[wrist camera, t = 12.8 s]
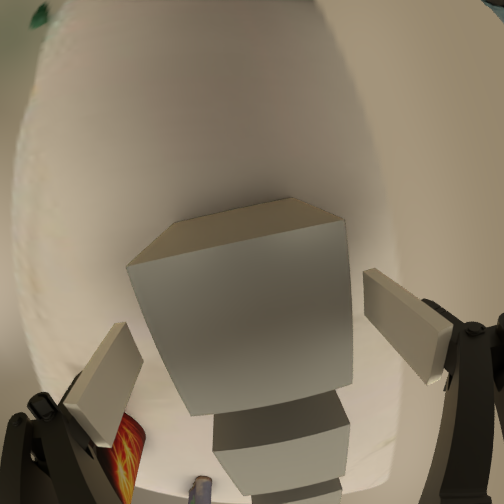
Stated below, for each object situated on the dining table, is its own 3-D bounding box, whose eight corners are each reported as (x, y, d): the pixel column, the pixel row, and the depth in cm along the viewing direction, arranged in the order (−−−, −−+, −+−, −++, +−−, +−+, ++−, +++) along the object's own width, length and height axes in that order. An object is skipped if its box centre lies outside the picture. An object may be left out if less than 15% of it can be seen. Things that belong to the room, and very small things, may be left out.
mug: (119, 378, 24) (81, 468, 12) (155, 450, 28) (142, 522, 16) (52, 370, 23) (6, 438, 12) (95, 440, 27) (73, 502, 16)
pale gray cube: (216, 362, 24) (212, 451, 14) (313, 342, 24) (350, 423, 14) (238, 420, 26) (243, 496, 17) (319, 403, 26) (344, 475, 17)
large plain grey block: (246, 438, 27) (252, 507, 18) (320, 423, 27) (342, 489, 18) (260, 468, 30) (266, 525, 20) (322, 455, 30) (338, 510, 20)
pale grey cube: (173, 223, 20) (125, 266, 10) (292, 197, 20) (344, 219, 11) (204, 326, 23) (191, 416, 13) (308, 304, 23) (352, 383, 13)
